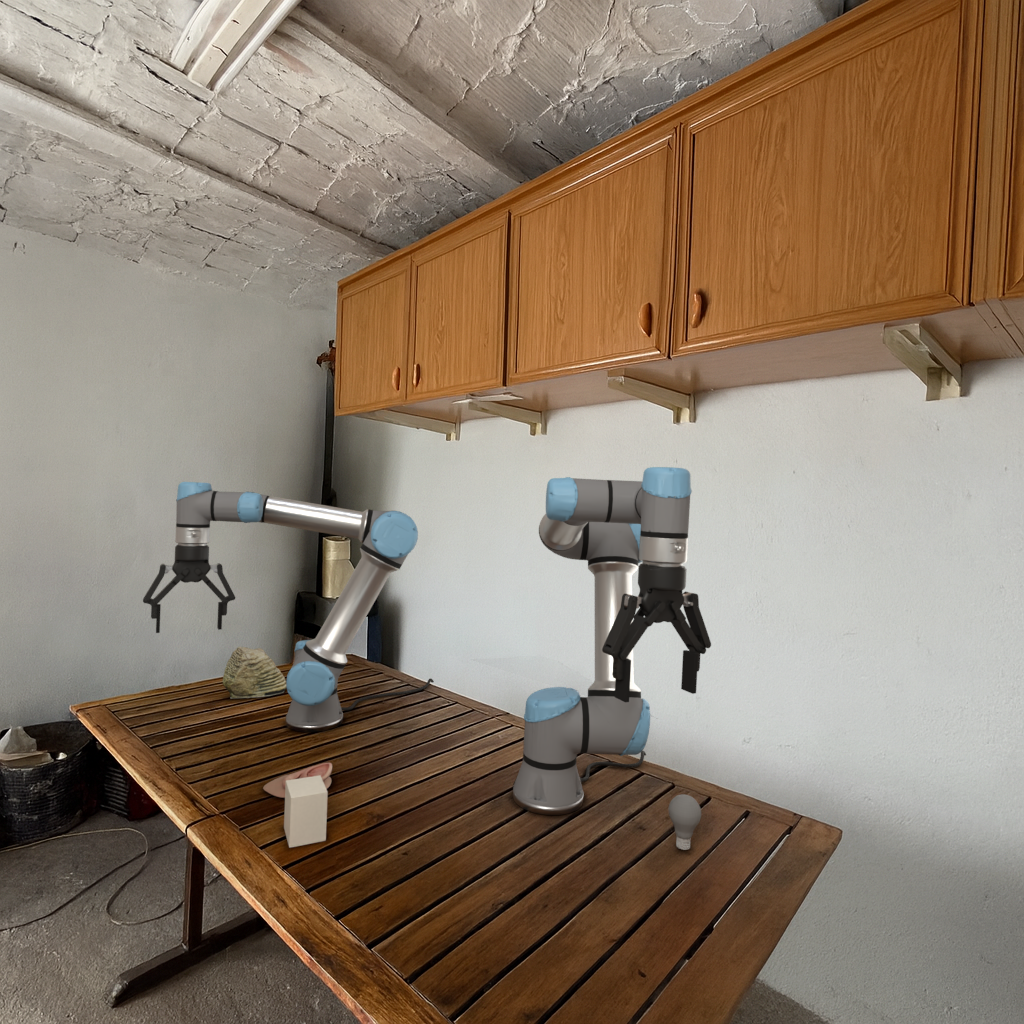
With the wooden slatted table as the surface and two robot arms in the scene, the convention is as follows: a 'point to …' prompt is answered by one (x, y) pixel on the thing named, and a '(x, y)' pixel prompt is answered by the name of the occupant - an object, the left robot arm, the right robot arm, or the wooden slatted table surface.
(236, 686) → the fossil
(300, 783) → the block
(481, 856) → the wooden slatted table surface
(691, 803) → the light bulb
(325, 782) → the anatomical model
